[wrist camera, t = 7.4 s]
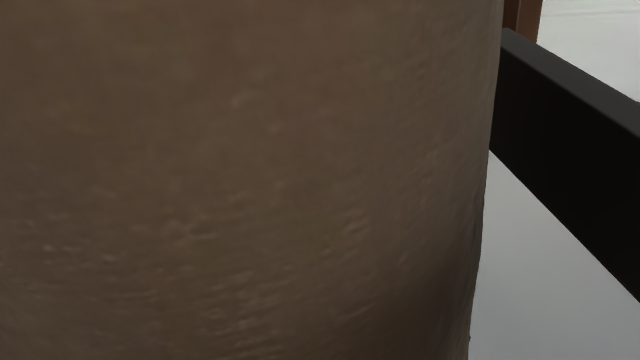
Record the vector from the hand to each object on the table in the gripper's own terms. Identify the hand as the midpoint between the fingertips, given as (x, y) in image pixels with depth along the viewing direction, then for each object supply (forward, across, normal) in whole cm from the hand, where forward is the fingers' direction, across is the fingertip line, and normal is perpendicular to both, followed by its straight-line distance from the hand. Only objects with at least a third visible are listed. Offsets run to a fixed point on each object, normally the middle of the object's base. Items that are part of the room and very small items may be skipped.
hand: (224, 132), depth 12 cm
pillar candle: (-2, 0, -8) cm, 8 cm away
